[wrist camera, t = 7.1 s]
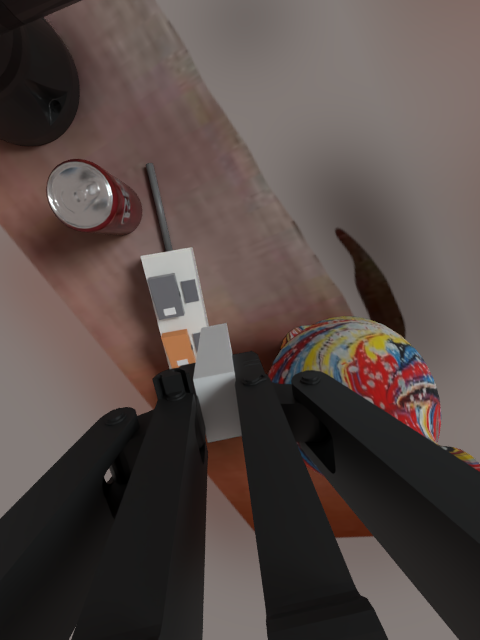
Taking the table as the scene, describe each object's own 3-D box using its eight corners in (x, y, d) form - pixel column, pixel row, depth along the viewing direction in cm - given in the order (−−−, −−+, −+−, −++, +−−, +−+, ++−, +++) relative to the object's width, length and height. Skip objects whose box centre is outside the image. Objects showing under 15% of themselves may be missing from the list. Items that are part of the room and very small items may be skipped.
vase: (373, 311, 49) (605, 409, 20) (334, 406, 53) (478, 601, 24) (270, 281, 46) (366, 344, 17) (237, 384, 50) (269, 576, 21)
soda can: (107, 243, 42) (67, 242, 31) (81, 194, 40) (28, 173, 29) (152, 224, 42) (128, 216, 30) (128, 174, 40) (93, 145, 28)
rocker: (147, 277, 39) (146, 280, 37) (175, 272, 39) (174, 275, 38) (159, 317, 41) (158, 320, 40) (185, 312, 41) (184, 315, 40)
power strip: (125, 169, 40) (114, 159, 35) (174, 161, 40) (169, 150, 36) (186, 413, 50) (184, 429, 46) (225, 405, 51) (226, 421, 46)
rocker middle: (161, 333, 40) (160, 338, 39) (187, 328, 40) (187, 333, 39) (172, 364, 44) (171, 369, 43) (196, 359, 44) (196, 365, 43)
